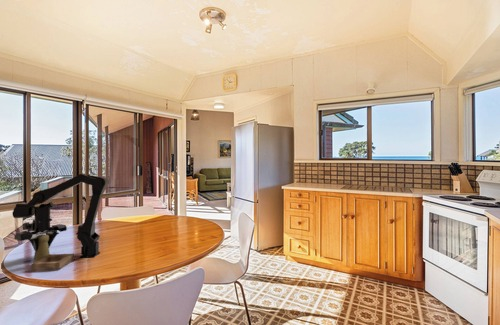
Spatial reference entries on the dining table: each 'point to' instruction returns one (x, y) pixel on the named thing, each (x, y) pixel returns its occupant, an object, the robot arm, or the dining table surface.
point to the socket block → (52, 262)
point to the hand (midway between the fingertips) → (42, 249)
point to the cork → (42, 247)
